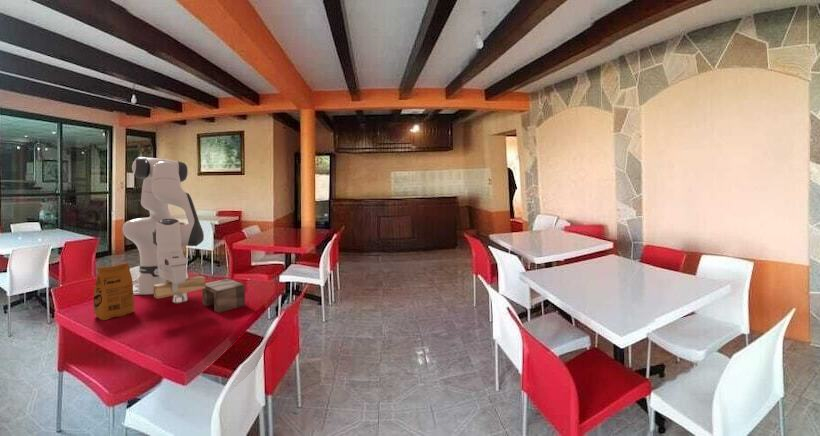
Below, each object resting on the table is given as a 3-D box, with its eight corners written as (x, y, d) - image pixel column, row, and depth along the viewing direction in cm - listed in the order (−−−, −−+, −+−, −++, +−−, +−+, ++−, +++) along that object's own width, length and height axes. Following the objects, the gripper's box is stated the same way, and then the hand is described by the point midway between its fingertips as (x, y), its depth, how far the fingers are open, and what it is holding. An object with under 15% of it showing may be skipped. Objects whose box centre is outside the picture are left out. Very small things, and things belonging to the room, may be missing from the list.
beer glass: (180, 304, 161) (178, 273, 159) (167, 302, 162) (166, 272, 161) (192, 299, 168) (190, 269, 166) (180, 298, 169) (178, 268, 167)
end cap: (202, 304, 161) (202, 283, 160) (228, 297, 171) (228, 278, 170) (218, 312, 152) (217, 290, 151) (245, 305, 161) (244, 284, 160)
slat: (154, 296, 140) (153, 285, 139) (201, 286, 154) (200, 275, 154) (157, 298, 137) (156, 286, 137) (205, 288, 152) (204, 277, 152)
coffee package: (92, 316, 144) (88, 266, 142) (128, 307, 155) (125, 260, 153) (100, 322, 139) (96, 269, 137) (137, 312, 150) (134, 263, 147)
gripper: (152, 255, 145) (154, 287, 147) (171, 262, 133) (173, 297, 135) (169, 253, 151) (171, 283, 152) (188, 260, 138) (190, 293, 140)
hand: (172, 290), depth 143 cm, fingers closed on slat, 4 cm apart
